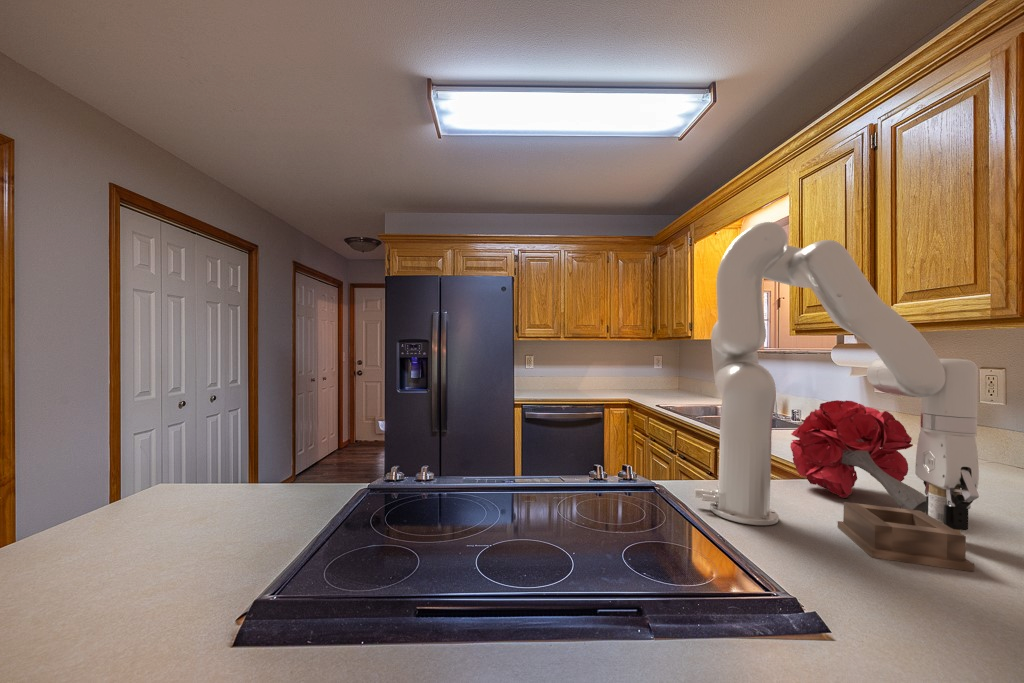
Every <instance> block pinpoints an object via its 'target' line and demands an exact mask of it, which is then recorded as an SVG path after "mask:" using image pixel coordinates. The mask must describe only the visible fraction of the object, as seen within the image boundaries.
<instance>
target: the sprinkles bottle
mask: <svg viewBox="0 0 1024 683" xmlns="http://www.w3.org/2000/svg"><path fill="white" fill-rule="evenodd" d="M952 489H961V486H955V488H952ZM958 494H960V495H961V493H955V492H954V498H955V497H956V496H957V495H958ZM944 505H948V504H947V497H946V489H942V488H939V487H937V486H935V485H932V484H930V483H929V494H928V515H929V516H931V517H932V518H934V519H936V520H938V521H939V522H941V523H943V524H944ZM954 530H956V531H957V532H959V533H961V530H957V529H954Z"/></svg>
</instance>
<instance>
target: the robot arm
mask: <svg viewBox="0 0 1024 683" xmlns="http://www.w3.org/2000/svg"><path fill="white" fill-rule="evenodd" d="M788 239H789V238H788V234H787V232H786V229H784V228H783V226H781V225H780V224H779V223H777V222H773V221H765V222H760V223H757V224H755V225H753V226H750V227H749V228H748V229H746V230H744V231H743V232H742V233H741V234H739V235H738V236H737V237H736V238H735V239H734V240H733V241H732V242H731V244H730V245H729V246H728V247H727V248H726V250H725V253H724V254H723V256H722V258H721V260H720V262H719V266H718V270H717V273H716V285H715V286H716V287H715V288H716V307H717V320H716V322H715V323H714V325H713V327H712V330H711V335H710V341H711V342H710V343H711V344H710V346H711V355H712V356H711V357H712V367H713V369H712V370H713V377H714V383H715V388H716V390H717V392H718V393H719V394H720V396H721V411H720V422H719V455H718V456H719V457H718V459H719V460H718V461H719V462H718V485H714V488H710V490H707V489H703V488H694V496H693V497H694V498H696V499H701V501H703V502H710V503H709V509H710V511H711V512H712V514H714V515H715V516H718V517H720V518H723V519H725V520H728V521H732V522H736V523H740V524H745V525H752V526H772V525H775V524H777V523H778V522H779V514H778V512H776V511H775V510H774V509H772V508H771V481H772V480H771V475H772V472H771V471H772V434H773V433H772V431H773V427H772V426H773V417H774V416H773V415H774V409H775V402H776V396H777V395H776V394H777V393H776V392H777V388H776V382H775V379H774V378H773V375H772V374H771V373H770V371H769V370H768V369H767V368H766V367H764V366H763V365H761V364H760V363H759V357H758V356H759V355H758V351H759V350H761V348H762V347H763V346H764V344H765V342H766V340H767V339H766V338H767V331H766V330H767V329H766V323H765V315H764V314H765V313H764V306H763V290H762V288H763V287H762V286H763V283H762V282H763V279H764V280H768V281H771V282H772V281H773V282H776V283H780V284H784V285H788V286H792V287H798V288H805V289H809V288H810V290H811V291H812V292H813V294H814V295H815V296H816V298H817V299H818V301H819V302H820V304H821V306H822V307H823V309H824V311H825V312H826V313H827V315H828V316H829V318H830V319H831V321H832V322H833V323H834V324H835V325H837V326H838V327H840V328H841V329H843V330H844V331H846V332H849V333H851V334H853V335H854V336H856V337H857V338H859V339H861V340H862V341H863V342H865V344H867V345H868V346H869V347H870V348H871V349H872V350H873V351H874V352H875V353H876V355H877V356H878V357H879V358H878V359H876V360H874V361H872V362H871V363H870V364H869V366H868V367H867V369H866V378H867V381H868V383H869V384H870V385H871V386H872V387H873V388H874V389H876V390H877V391H879V392H882V393H884V394H888V395H889V394H890V395H896V396H904V397H909V398H918V399H919V398H920V426H919V427H920V429H919V430H920V431H919V434H918V439H917V445H916V453H915V466H914V467H915V469H914V470H915V471H914V472H915V475H916V476H917V478H919V479H920V480H921V481H923V485H924V487H925V489H924V495H925V496H926V512H925V514H927V515H928V494H929V483H930V484H932V485H935V486H937V487H939V488H942V489H946V497H947V504H948V505H944V524H945V525H947V526H948V527H950V528H952V529H957V530H960V531H964V532H965V531H968V530H969V510H970V509H972V507H971V506H972V505H971V504H972V503H973V502H974V501H975V500H977V499H979V497H980V495H979V492H978V488H979V480H980V470H979V454H978V446H977V440H976V437H977V436H978V391H979V390H978V388H979V386H978V385H979V384H978V382H979V368H978V365H977V364H976V363H975V362H974V361H973V360H970V359H962V358H939V356H938V355H937V354H936V352H935V351H934V350H933V348H932V346H931V345H930V344H929V343H928V341H927V340H926V338H925V337H924V336H923V335H922V333H921V332H920V331H919V330H918V329H917V328H915V326H914V325H912V324H911V323H910V322H909V321H908V320H906V319H905V318H904V317H903V316H902V315H900V314H899V313H898V312H897V311H896V310H895V309H893V308H892V307H890V306H889V305H887V304H886V303H885V302H884V301H883V300H882V299H881V297H880V296H879V295H878V294H877V292H876V291H875V289H874V288H873V286H872V285H871V283H870V281H868V279H867V278H866V276H865V274H864V273H863V271H862V270H861V268H860V267H859V266H858V264H857V262H856V261H855V260H854V258H853V257H852V256H851V254H850V253H849V251H848V250H847V248H845V246H843V244H841V243H840V242H838V241H835V240H832V239H823V240H818V241H816V242H814V243H813V242H812V243H811V244H809V245H807V246H806V247H804V248H803V247H796V246H792V245H789V240H788ZM955 486H961V488H960V489H952V488H955ZM954 492H955V493H961V495H960V494H958V495H957V496H956V497H955V498H954Z"/></svg>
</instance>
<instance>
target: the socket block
mask: <svg viewBox="0 0 1024 683" xmlns="http://www.w3.org/2000/svg"><path fill="white" fill-rule="evenodd" d="M837 528H838V529H839V530H840V531H841V532H843V533H844V535H846V536H847V538H849V539H850V540H851V541H852V542H853V543H855V544H856V545H857V546H858V547H859V548H860V549H862V551H864V552H865V553H866V554H867V555H868V556H869V557H871V558H875V559H881V560H890V561H894V562H895V561H896V562H903V563H910V564H915V565H917V564H918V565H922V566H923V565H924V566H931V567H936V568H937V567H938V568H945V569H951V570H958V571H966V572H972V573H974V572H975V564H974V563H973V562H971V561H970V560H968V559H966V556H967V555H966V554H967V553H966V549H967V548H966V546H967V536H966V535H965V534H963V533H961V532H960V533H959V532H957V531H956V530H954V529H952V528H950V527H948V526H947V525H945V524H943V523H941V522H939V521H938V520H936V519H934V518H932V517H931V516H929V515H927V514H926V512H925V513H923V512H922V511H918V510H909V509H902V508H901V507H899V508H898V507H890V506H881V505H874V504H873V505H872V504H866V503H865V504H864V503H855V502H847V501H843V520H841V521H840V520H838V521H837Z"/></svg>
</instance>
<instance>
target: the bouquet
mask: <svg viewBox="0 0 1024 683" xmlns="http://www.w3.org/2000/svg"><path fill="white" fill-rule="evenodd" d="M802 422H803V423H802V424H800V425H799V426H798V427H797V428H796V429H794V430H793V431H792V432H791V433H790V435H792V437H795V438H798V439H791V441H792V442H790V450H791V452H792V456H793V457H792V462H793V465H794V466H795V469H796V471H797V473H798V474H799V476H801V477H805V478H806V479H807V481H808V482H809V484H810V485H818V486H819V487H820V488H822V489H826V490H827V491H829V492H830V493H832V494H835V495H838V496H839V498H840V497H841V498H845V499H846V498H849V495H851V494H852V490H853V487H855V484H856V482H857V480H858V474H857V470H855V468H856V467H857V468H859V469H861V470H863V471H864V472H866V473H868V474H869V475H870V476H871V477H872V478H874V479H875V480H876V481H877V482H878V483H880V484H881V486H883V488H884V489H885V491H886V493H888V494H889V496H890V497H891V499H892V500H893V501H894V502H895V504H897V505H898V507H899V508H900V509H909V510H918V511H922V512H923V513H925V514H926V496H927V495H926V494H924V493H923V492H921V491H918V490H917V489H915V488H914V487H912V486H909V484H906V483H904V482H903V481H904V480H905V477H906V476H908V472H909V464H908V461H907V459H906V457H905V456H904V455H903V454H902V453H901V452H899V451H900V450H907V449H909V448H912V447H913V446H914V444H913V443H912V440H913V439H912V437H911V436H910V435H909V434H908V433H907V430H906V428H905V426H904V425H903V423H901V422H900V421H899V420H897V419H896V418H895V417H894V415H893V414H891V413H890V412H888V410H886V411H882V412H881V411H880V410H878V409H875V408H874V407H869V406H865V405H864V404H862V403H858V402H856V401H854V400H831V401H825V402H821V403H820V404H819V408H818V409H816V408H815V409H814V410H813V411H810V412H809V415H807V416H806V417H805V418H804V420H803V421H802Z"/></svg>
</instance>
